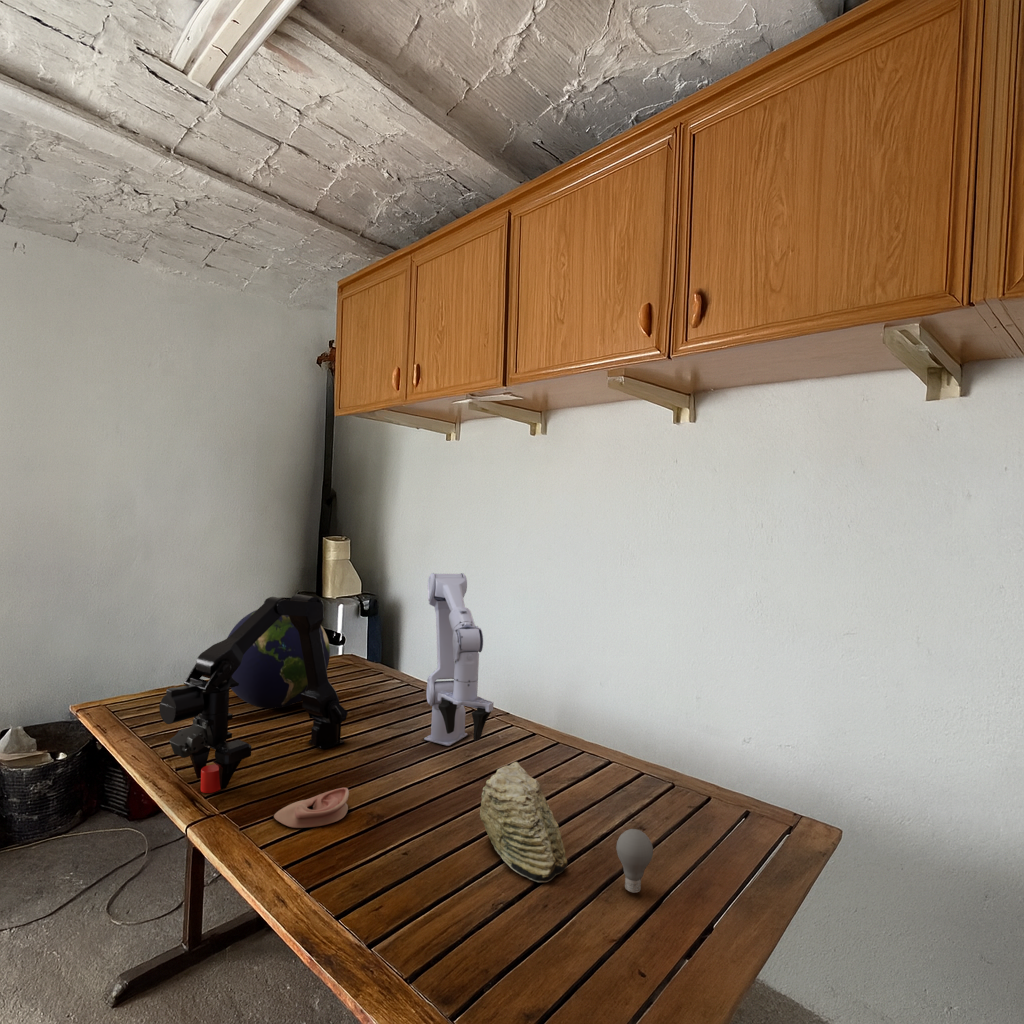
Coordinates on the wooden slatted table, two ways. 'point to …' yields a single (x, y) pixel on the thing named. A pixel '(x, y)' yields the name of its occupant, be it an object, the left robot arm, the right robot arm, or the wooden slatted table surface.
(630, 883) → the light bulb
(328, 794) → the anatomical model
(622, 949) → the wooden slatted table surface
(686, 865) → the wooden slatted table surface
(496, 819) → the fossil
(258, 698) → the globe
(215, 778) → the red cylinder
